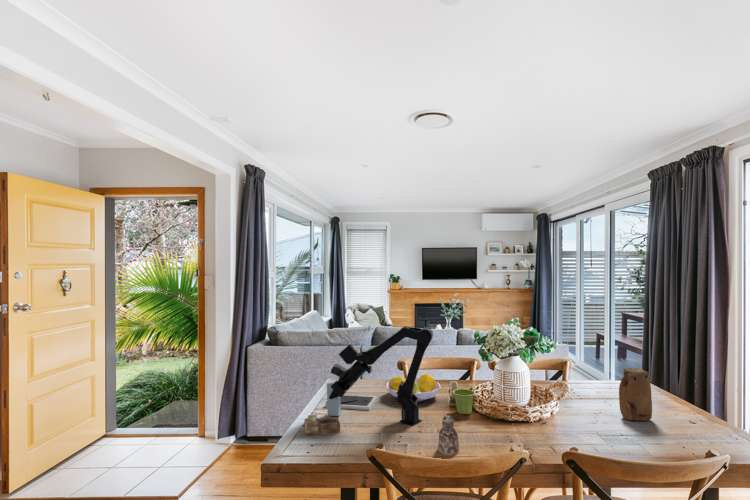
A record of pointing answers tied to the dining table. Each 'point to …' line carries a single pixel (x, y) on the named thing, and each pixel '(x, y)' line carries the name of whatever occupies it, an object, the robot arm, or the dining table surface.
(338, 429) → the rack
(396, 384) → the fruit bowl
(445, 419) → the figurine
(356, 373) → the robot arm
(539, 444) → the dining table surface
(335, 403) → the light blue tall bar
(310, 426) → the offcut stack
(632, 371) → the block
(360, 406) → the picture frame
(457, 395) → the plant pot
